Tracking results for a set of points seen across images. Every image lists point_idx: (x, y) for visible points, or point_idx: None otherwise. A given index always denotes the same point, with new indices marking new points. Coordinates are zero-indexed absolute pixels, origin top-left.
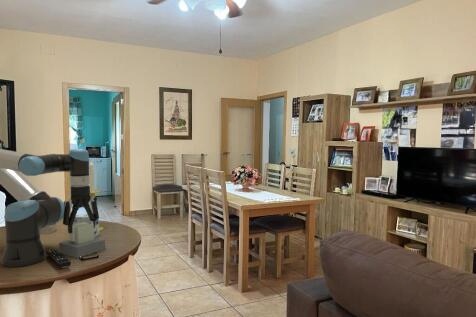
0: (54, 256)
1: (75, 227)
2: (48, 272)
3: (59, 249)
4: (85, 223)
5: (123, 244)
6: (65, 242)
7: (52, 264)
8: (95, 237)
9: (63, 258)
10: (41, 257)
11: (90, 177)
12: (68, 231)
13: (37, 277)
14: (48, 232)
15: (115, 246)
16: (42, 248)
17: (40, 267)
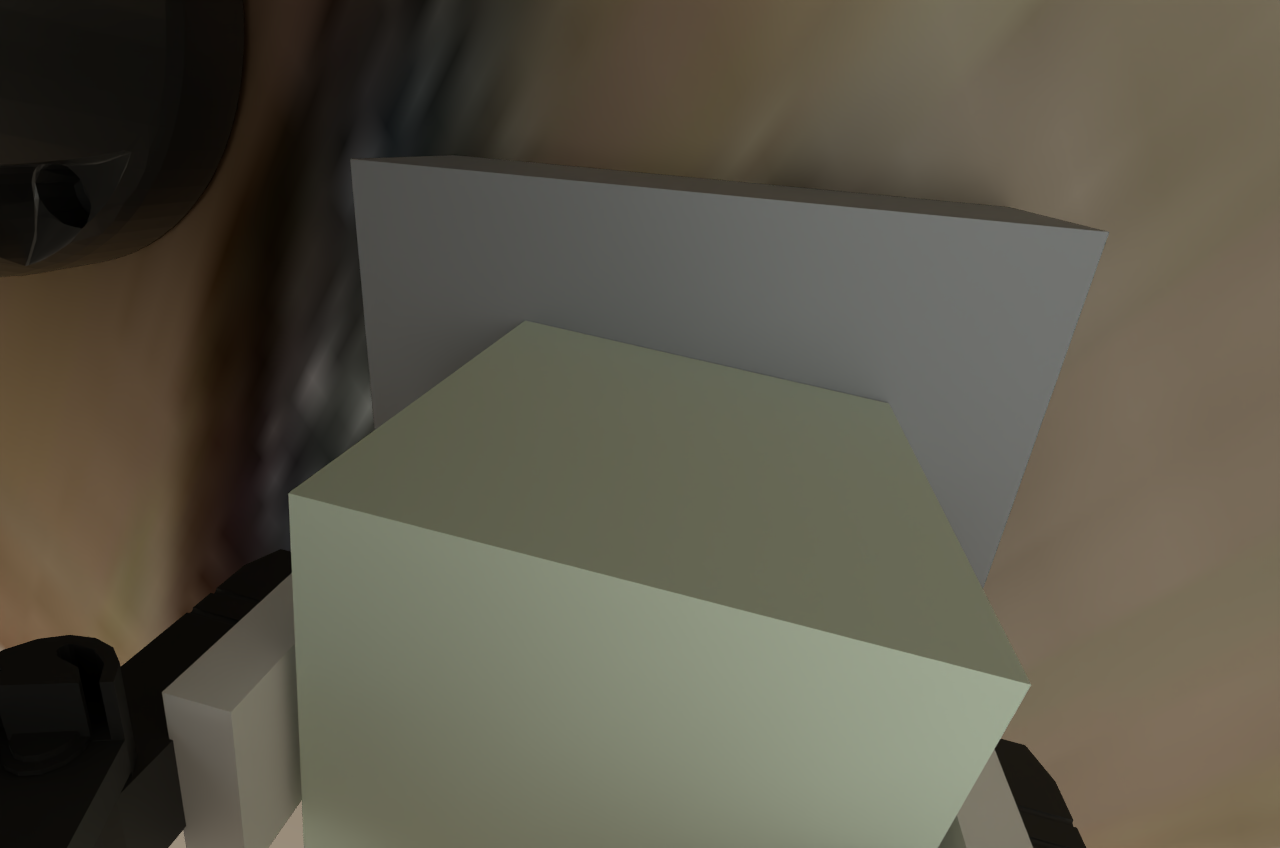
0: (332, 230)
1: (309, 827)
2: (102, 610)
3: (425, 157)
4: (817, 830)
5: (1199, 735)
6: (432, 288)
7: (198, 475)
8: (977, 576)
9: (368, 424)
10: (91, 258)
11: None
12: (235, 597)
13: (5, 615)
14: None
15: (1067, 691)
16: (21, 164)
17: (78, 433)
